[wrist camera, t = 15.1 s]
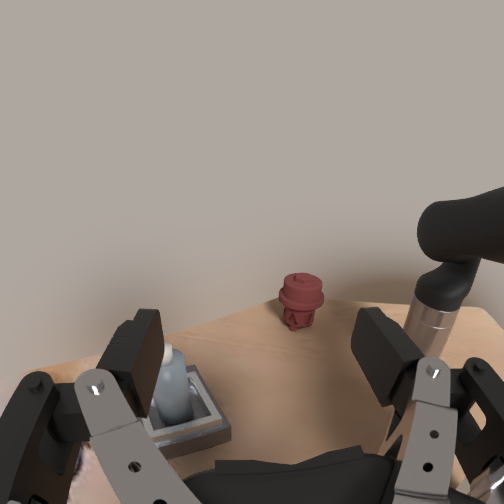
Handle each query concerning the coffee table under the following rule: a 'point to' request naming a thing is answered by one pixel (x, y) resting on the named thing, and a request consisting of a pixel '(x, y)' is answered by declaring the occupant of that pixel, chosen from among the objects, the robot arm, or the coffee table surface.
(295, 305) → the mechanical component
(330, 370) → the coffee table surface
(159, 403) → the pale blue squeeze bottle
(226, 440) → the square grey open box
